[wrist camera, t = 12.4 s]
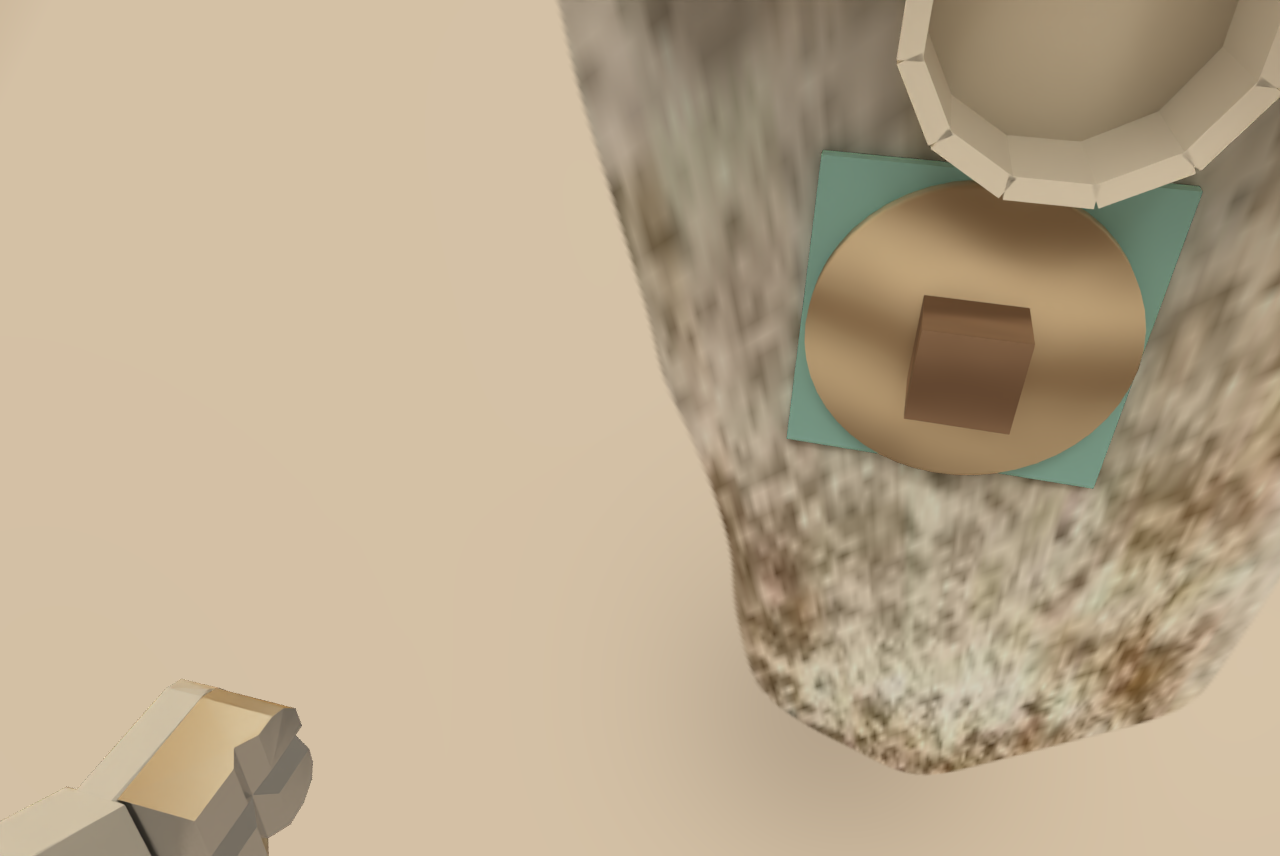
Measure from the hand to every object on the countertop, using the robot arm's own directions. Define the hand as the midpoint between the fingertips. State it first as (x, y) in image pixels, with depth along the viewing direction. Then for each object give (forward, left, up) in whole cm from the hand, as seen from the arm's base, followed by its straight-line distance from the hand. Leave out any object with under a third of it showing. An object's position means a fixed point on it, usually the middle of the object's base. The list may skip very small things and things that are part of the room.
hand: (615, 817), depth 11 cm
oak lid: (+9, +6, -30) cm, 32 cm away
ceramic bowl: (-4, +7, -31) cm, 32 cm away
